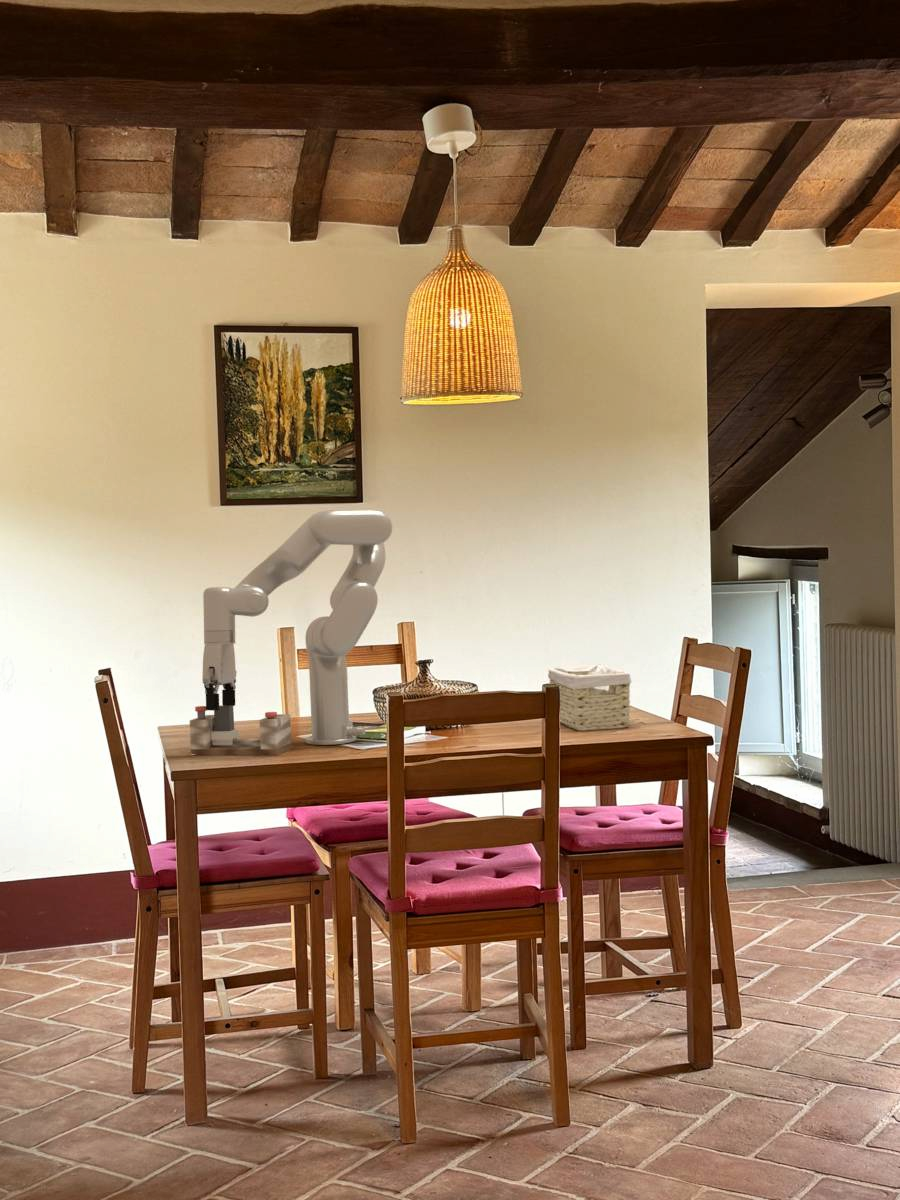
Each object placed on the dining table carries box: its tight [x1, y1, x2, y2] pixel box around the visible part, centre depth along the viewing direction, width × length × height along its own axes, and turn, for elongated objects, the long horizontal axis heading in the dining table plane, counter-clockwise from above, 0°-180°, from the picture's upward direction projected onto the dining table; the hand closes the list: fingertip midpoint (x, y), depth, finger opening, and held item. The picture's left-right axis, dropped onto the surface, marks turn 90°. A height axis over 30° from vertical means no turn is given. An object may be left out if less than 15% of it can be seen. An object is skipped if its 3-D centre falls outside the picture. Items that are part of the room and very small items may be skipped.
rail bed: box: [189, 713, 292, 756], centre depth 315 cm, size 22×10×8 cm, turn 77°
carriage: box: [211, 704, 239, 745], centre depth 316 cm, size 5×5×9 cm
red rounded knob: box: [194, 705, 208, 720], centre depth 314 cm, size 3×3×4 cm
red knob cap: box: [264, 711, 278, 719], centre depth 310 cm, size 3×3×4 cm
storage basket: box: [547, 664, 632, 732], centre depth 340 cm, size 24×16×15 cm
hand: (220, 708), depth 315 cm, fingers open, 9 cm apart
